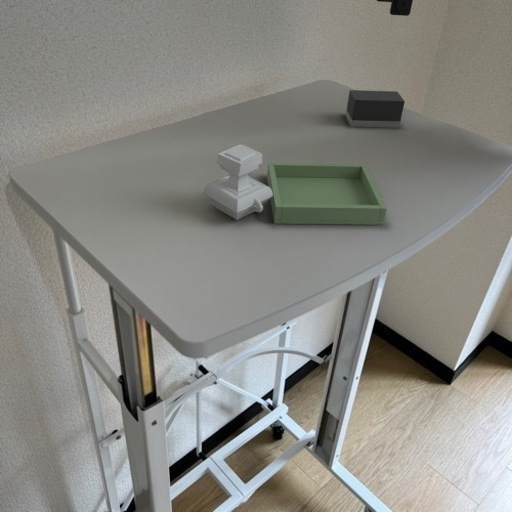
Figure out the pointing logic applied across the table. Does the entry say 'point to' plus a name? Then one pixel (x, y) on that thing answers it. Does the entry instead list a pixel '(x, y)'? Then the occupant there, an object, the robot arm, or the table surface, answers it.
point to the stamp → (238, 183)
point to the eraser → (374, 108)
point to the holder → (324, 194)
